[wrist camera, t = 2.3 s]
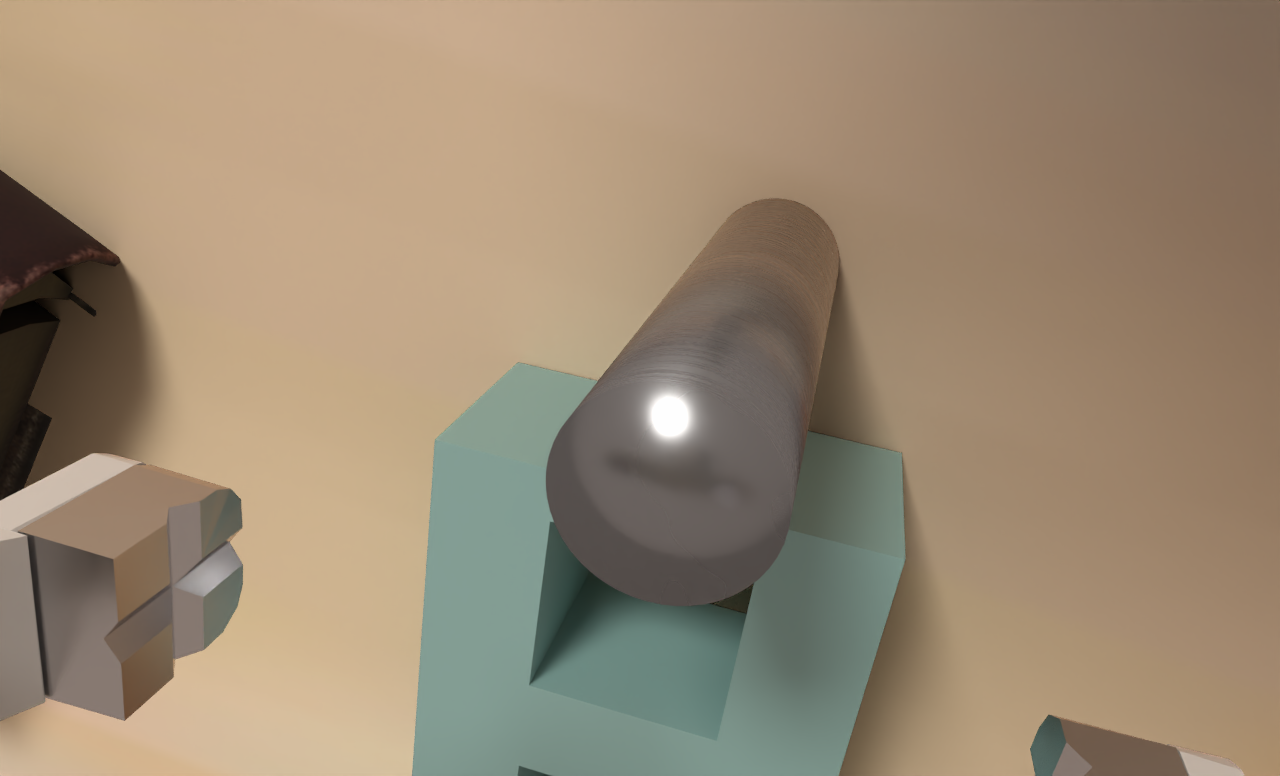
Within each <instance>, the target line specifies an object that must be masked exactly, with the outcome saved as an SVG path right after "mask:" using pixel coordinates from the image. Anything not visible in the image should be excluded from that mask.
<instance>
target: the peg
mask: <svg viewBox="0 0 1280 776" xmlns="http://www.w3.org/2000/svg"><path fill="white" fill-rule="evenodd" d="M838 271H839V251H838V247H837V243H836V240H835V238H834V235H833V233H832V231H831V230H830V228H829V226H828V225H827V224H826V223H825V221H824V220H823V219H822V218H821V217H820V216H819V215H818V214H817V213H815V212H814V211H813V210H811V209H810V208H808V207H806V206H805V205H802V204H800V203H798V202H795V201H791V200H787V199H779V198H775V199H763V200H759V201H755V202H752V203H750V204H747V205H745V206H744V207H742V208H740V209H738V210H737V211H736V212H735V213H733V214H732V215H731V216H730V217H729V218H728V219H727V220H726V221H725V223H724V224H723V225H722V226H721V228H720V229H719V230H718V231H717V233H716V234H715V235H714V236H713V238H712V239H711V240H710V241H709V243H708V244H707V245H706V246H705V248H704V249H703V250H702V251H701V253H700V254H699V255H698V256H697V258H696V259H695V260H694V261H693V263H692V264H691V265H690V266H689V268H688V269H687V270H686V271H685V273H684V274H683V275H682V276H681V278H680V279H679V280H678V281H677V283H676V284H675V285H674V286H673V288H672V289H671V290H670V291H669V293H668V294H667V295H666V296H665V298H664V299H663V300H662V301H661V303H660V304H659V305H658V306H657V308H656V309H655V310H654V311H653V313H652V314H651V315H650V317H649V318H648V319H647V320H646V322H645V323H644V324H643V325H642V327H641V328H640V329H639V330H638V332H637V333H636V334H635V335H634V337H633V338H632V339H631V340H630V342H629V343H628V344H627V345H626V347H625V348H624V349H623V350H622V352H621V353H620V354H619V355H618V357H617V358H616V359H615V360H614V362H613V363H612V364H611V365H610V367H609V368H608V369H607V370H606V372H605V373H604V374H603V375H602V377H601V378H600V379H599V380H598V382H597V383H596V384H595V385H594V387H593V388H592V389H591V390H590V392H589V393H588V394H587V395H586V397H585V398H584V399H583V400H582V402H581V403H580V404H579V405H578V407H577V408H576V409H575V411H574V412H573V413H572V414H571V416H570V417H569V418H568V419H567V421H566V422H565V423H564V425H563V426H562V427H561V429H560V431H559V432H558V434H557V436H556V438H555V440H554V442H553V445H552V448H551V450H550V453H549V457H548V462H547V467H546V493H547V500H548V504H549V509H550V512H551V515H552V518H553V521H554V523H555V526H556V528H557V530H558V532H559V534H560V535H561V537H562V539H563V541H564V542H565V544H566V545H567V547H568V548H569V549H570V551H571V552H572V553H573V554H574V556H575V557H576V558H577V559H578V560H579V561H580V562H581V563H582V564H583V565H584V566H585V567H586V568H587V569H588V570H589V571H590V572H591V573H592V574H594V575H595V576H596V577H598V578H599V579H600V580H602V581H603V582H605V583H606V584H608V585H610V586H611V587H613V588H615V589H616V590H618V591H621V592H623V593H625V594H627V595H629V596H632V597H635V598H638V599H641V600H644V601H647V602H652V603H656V604H661V605H670V606H696V605H703V604H709V603H713V602H717V601H721V600H723V599H726V598H728V597H731V596H733V595H736V594H737V593H739V592H741V591H743V590H744V589H746V588H748V587H749V586H751V585H752V584H753V583H754V582H756V581H757V580H758V579H760V578H761V576H762V575H763V574H764V573H765V572H766V571H767V570H768V569H769V568H770V567H771V565H772V564H773V563H774V561H775V560H776V558H777V557H778V555H779V553H780V551H781V549H782V547H783V545H784V543H785V540H786V537H787V534H788V531H789V526H790V521H791V516H792V510H793V505H794V500H795V495H796V490H797V484H798V479H799V474H800V469H801V464H802V459H803V453H804V448H805V443H806V438H807V433H808V427H809V422H810V417H811V412H812V407H813V401H814V396H815V391H816V386H817V381H818V376H819V370H820V365H821V360H822V355H823V350H824V344H825V339H826V334H827V329H828V324H829V319H830V313H831V308H832V303H833V298H834V293H835V287H836V282H837V277H838Z"/></svg>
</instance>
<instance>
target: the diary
mask: <svg viewBox="0 0 1280 776" xmlns="http://www.w3.org/2000/svg"><path fill="white" fill-rule="evenodd" d="M86 261H95V262H99V263H103V264H107V265H111V266H116V265H117V264H118V263H119V262H120V261H119V257H118V256H117V255H115V254H114V253H113V252H111V251H110V250H109V249H107V248H106V247H105V246H103V245H102V244H101V243H99V242H98V241H97V240H95V239H94V238H93V237H91V236H90V235H89V234H87V233H86V232H85V231H83V230H82V229H80V228H79V227H78V226H76V225H75V224H74V223H72V222H71V221H70V220H68V219H67V218H65V217H64V216H63V215H61V214H60V213H59V212H57V211H56V210H54V209H53V208H52V207H50V206H49V205H48V204H46V203H45V202H44V201H42V200H41V199H39V198H38V197H37V196H35V195H34V194H33V193H31V192H30V191H28V190H27V189H26V188H24V187H23V186H22V185H20V184H19V183H18V182H16V181H15V180H13V179H12V178H11V177H9V176H8V175H7V174H5V173H4V172H2V171H1V170H0V501H1V500H2V499H4V498H6V497H8V496H10V495H12V494H14V493H16V492H18V491H20V490H22V489H23V488H24V485H25V483H26V481H27V478H28V476H29V473H30V471H31V468H32V466H33V463H34V461H35V458H36V456H37V453H38V451H39V448H40V446H41V443H42V441H43V438H44V436H45V434H46V431H47V429H48V426H49V424H50V421H51V419H52V418H50V417H49V416H47V415H45V414H44V413H42V412H40V411H39V410H37V409H35V408H34V407H32V406H30V405H29V404H27V403H28V401H29V398H30V396H31V393H32V391H33V388H34V386H35V383H36V381H37V378H38V375H39V373H40V370H41V368H42V365H43V363H44V360H45V358H46V355H47V353H48V350H49V348H50V345H51V343H52V340H53V338H54V335H55V333H56V330H57V328H58V325H59V323H60V320H59V319H58V318H56V317H55V316H54V315H52V314H51V313H50V312H48V311H47V310H46V309H44V308H43V307H42V306H41V305H39V304H38V303H37V302H35V301H34V300H35V299H39V298H51V299H67V300H69V298H70V299H71V300H73V301H74V302H75V303H77V304H78V305H79V306H80V307H82V308H83V309H84V310H86V311H87V312H88V313H90V314H91V315H92V316H96V310H94V309H93V308H92V307H90V306H89V305H88V304H86V303H85V302H84V301H82V300H81V299H80V298H78V297H77V296H76V295H74V294H73V293H71V292H72V290H73V288H71V287H70V286H69V285H68V284H66V283H65V282H64V281H62V280H61V279H60V278H58V277H57V276H56V275H55V274H53V273H52V272H53V271H55V270H59V269H62V268H66V267H69V266H73V265H76V264H79V263H83V262H86Z"/></svg>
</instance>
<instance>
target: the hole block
mask: <svg viewBox="0 0 1280 776" xmlns="http://www.w3.org/2000/svg"><path fill="white" fill-rule="evenodd" d="M597 382H598V381H595V380H591V379H586V378H582V377H578V376H574V375H570V374H565V373H561V372H557V371H553V370H548V369H544V368H540V367H536V366H531V365H527V364H523V363H519V362H518V363H517V364H516V365H515V366H513V367H512V368H511V369H510V370H509V371H508V372H507V373H506V374H505V375H504V376H503V377H502V378H501V379H500V380H498V381H497V382H496V383H495V384H494V385H493V386H492V387H491V388H490V389H489V390H488V391H487V392H486V393H485V394H483V395H482V396H481V397H480V398H479V399H478V400H477V401H476V402H475V403H474V404H473V405H472V406H471V407H470V408H468V409H467V410H466V411H465V412H464V413H463V414H462V415H461V416H460V417H459V418H458V419H457V420H456V421H454V422H453V423H452V424H451V425H450V426H449V427H448V428H447V429H446V430H445V431H444V432H443V433H442V434H441V435H439V436H438V437H437V438H436V439H435V447H434V461H433V476H432V491H431V505H430V520H429V535H428V550H427V564H426V579H425V594H424V608H423V623H422V638H421V653H420V667H419V682H418V697H417V711H416V726H415V741H414V756H413V770H412V776H839V772H840V769H841V766H842V763H843V760H844V756H845V753H846V750H847V747H848V743H849V740H850V737H851V734H852V730H853V727H854V724H855V721H856V718H857V714H858V711H859V708H860V705H861V701H862V698H863V695H864V692H865V688H866V685H867V682H868V679H869V676H870V672H871V669H872V666H873V663H874V659H875V656H876V653H877V650H878V646H879V643H880V640H881V637H882V634H883V630H884V627H885V624H886V621H887V617H888V614H889V611H890V608H891V604H892V601H893V598H894V595H895V592H896V588H897V585H898V582H899V579H900V575H901V572H902V569H903V566H904V562H905V533H904V503H903V474H902V453H900V452H895V451H891V450H887V449H883V448H878V447H874V446H870V445H866V444H861V443H857V442H853V441H849V440H845V439H840V438H836V437H832V436H828V435H823V434H819V433H815V432H811V431H808V433H807V438H806V443H805V448H804V453H803V459H802V464H801V469H800V474H799V479H798V484H797V490H796V495H795V500H794V505H793V510H792V516H791V521H790V526H789V531H788V534H787V537H786V540H785V543H784V545H783V547H782V549H781V551H780V553H779V555H778V557H777V558H776V560H775V561H774V563H773V564H772V565H771V567H770V568H769V569H768V570H767V571H766V572H765V573H764V574H763V575H762V576H761V578H760V579H758V580H757V581H756V582H754V585H753V590H752V594H751V598H750V602H749V607H748V611H747V614H745V613H742V612H738V611H734V610H731V609H727V608H723V607H719V606H716V605H712V604H703V605H696V606H670V605H661V604H656V603H652V602H647V601H644V600H641V599H638V598H635V597H632V596H629V595H627V594H625V593H623V592H621V591H618V590H616V589H615V588H613V587H611V586H610V585H608V584H606V583H605V582H603V581H602V580H600V579H599V578H598V577H596V576H595V575H594V574H592V573H591V572H590V571H589V570H588V569H587V568H586V567H585V566H584V565H583V564H582V563H581V562H580V561H579V560H578V559H577V558H576V557H575V556H574V554H573V553H572V552H571V551H570V549H569V548H568V547H567V545H566V544H565V542H564V541H563V539H562V537H561V535H560V534H559V532H558V530H557V528H556V526H555V523H554V521H553V518H552V515H551V512H550V509H549V504H548V500H547V493H546V467H547V462H548V457H549V453H550V450H551V448H552V445H553V442H554V440H555V438H556V436H557V434H558V432H559V431H560V429H561V427H562V426H563V425H564V423H565V422H566V421H567V419H568V418H569V417H570V416H571V414H572V413H573V412H574V411H575V409H576V408H577V407H578V405H579V404H580V403H581V402H582V400H583V399H584V398H585V397H586V395H587V394H588V393H589V392H590V390H591V389H592V388H593V387H594V385H595V384H596V383H597Z"/></svg>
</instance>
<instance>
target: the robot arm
mask: <svg viewBox="0 0 1280 776" xmlns="http://www.w3.org/2000/svg"><path fill="white" fill-rule="evenodd" d="M241 529H242V511H241V499H240V498H239V497H238V496H237V495H236V494H235V493H234V492H233V491H232V490H231V489H230V488H226V487H223V486H220V485H216V484H213V483H210V482H206V481H203V480H200V479H196V478H193V477H190V476H186V475H183V474H180V473H176V472H173V471H170V470H166V469H163V468H159V467H156V466H153V465H146V464H144V463H143V462H139V461H135V460H132V459H128V458H124V457H121V456H117V455H113V454H106V453H92V454H90V455H88V456H86V457H84V458H82V459H80V460H78V461H77V462H75V463H73V464H71V465H69V466H67V467H65V468H63V469H61V470H59V471H57V472H55V473H53V474H51V475H49V476H47V477H45V478H43V479H41V480H40V481H38V482H36V483H34V484H32V485H30V486H28V487H26V488H24V489H22V490H20V491H18V492H16V493H14V494H12V495H10V496H8V497H6V498H4V499H2V500H1V501H0V721H1V720H4V719H6V718H9V717H11V716H13V715H16V714H18V713H20V712H23V711H25V710H28V709H30V708H32V707H35V706H37V705H40V704H42V703H44V702H45V698H49V699H52V700H55V701H59V702H62V703H66V704H69V705H73V706H76V707H79V708H83V709H86V710H90V711H93V712H97V713H100V714H103V715H107V716H110V717H114V718H117V719H121V720H124V721H125V720H126V719H127V718H128V717H129V716H131V715H132V714H133V713H134V712H135V711H136V710H137V709H138V708H140V707H141V706H142V705H143V704H144V703H145V702H146V701H147V700H149V699H150V698H151V697H152V696H153V695H154V694H155V693H156V692H157V691H159V690H160V689H161V688H162V687H163V686H164V685H165V684H166V683H168V682H169V681H170V680H171V679H172V678H173V677H174V666H175V659H178V658H181V657H184V656H187V655H190V654H193V653H196V652H199V651H202V650H204V649H205V648H206V647H208V646H209V645H210V644H211V643H212V642H213V641H214V640H215V639H216V638H217V637H218V636H219V635H220V634H221V633H222V632H223V631H224V629H225V627H226V626H227V624H228V622H229V620H230V619H231V617H232V615H233V613H234V612H235V610H236V608H237V606H238V602H239V598H240V593H241V589H242V585H243V564H242V562H241V561H240V559H239V557H238V556H237V554H236V552H235V551H234V549H233V547H232V546H231V544H230V541H231V540H232V539H233V538H234V536H235V535H236V534H237V533H238V532H239V531H240V530H241ZM1030 750H1031V755H1032V760H1033V765H1034V770H1035V775H1036V776H1244V774H1243V772H1242V770H1241V769H1240V768H1239V767H1238V766H1237V765H1236V764H1235V763H1233V762H1232V761H1231V760H1230V759H1227V758H1223V757H1219V756H1215V755H1211V754H1207V753H1203V752H1199V751H1194V750H1190V749H1186V748H1182V747H1178V746H1174V745H1170V744H1168V745H1164V744H1161V743H1157V742H1153V741H1149V740H1145V739H1141V738H1137V737H1134V736H1130V735H1126V734H1122V733H1118V732H1114V731H1111V730H1107V729H1103V728H1099V727H1095V726H1091V725H1087V724H1084V723H1080V722H1076V721H1072V720H1068V719H1064V718H1061V717H1057V716H1053V715H1048V716H1047V718H1046V719H1045V720H1044V722H1043V723H1042V724H1041V726H1040V727H1039V729H1038V732H1037V734H1036V736H1035V739H1034V741H1033V744H1032V746H1031V748H1030Z"/></svg>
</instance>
